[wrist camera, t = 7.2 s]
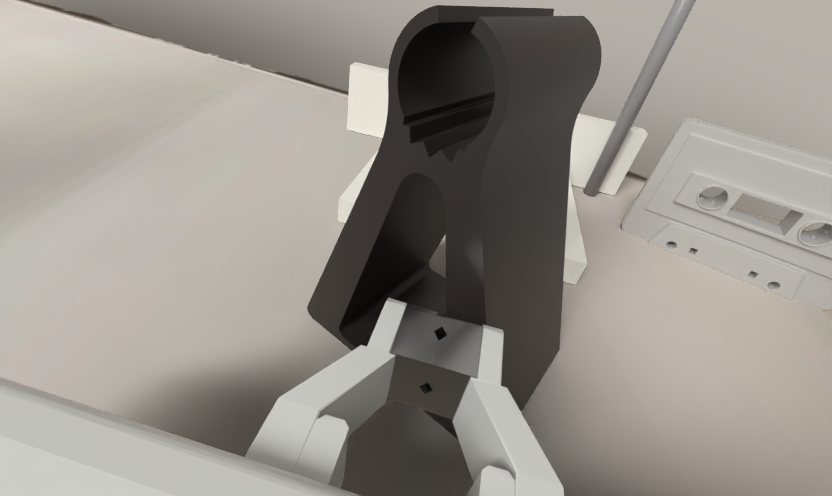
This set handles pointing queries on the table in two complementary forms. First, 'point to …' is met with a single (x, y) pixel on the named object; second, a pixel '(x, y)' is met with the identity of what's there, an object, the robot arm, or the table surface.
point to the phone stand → (470, 183)
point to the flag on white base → (590, 147)
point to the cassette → (735, 230)
